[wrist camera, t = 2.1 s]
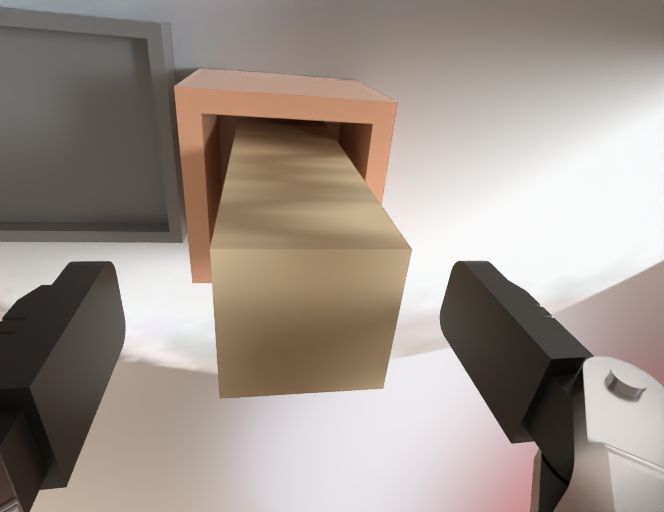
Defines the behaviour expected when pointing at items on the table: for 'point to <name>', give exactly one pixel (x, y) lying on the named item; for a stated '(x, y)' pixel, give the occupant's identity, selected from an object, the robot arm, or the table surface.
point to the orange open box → (273, 102)
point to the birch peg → (301, 266)
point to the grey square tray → (88, 130)
